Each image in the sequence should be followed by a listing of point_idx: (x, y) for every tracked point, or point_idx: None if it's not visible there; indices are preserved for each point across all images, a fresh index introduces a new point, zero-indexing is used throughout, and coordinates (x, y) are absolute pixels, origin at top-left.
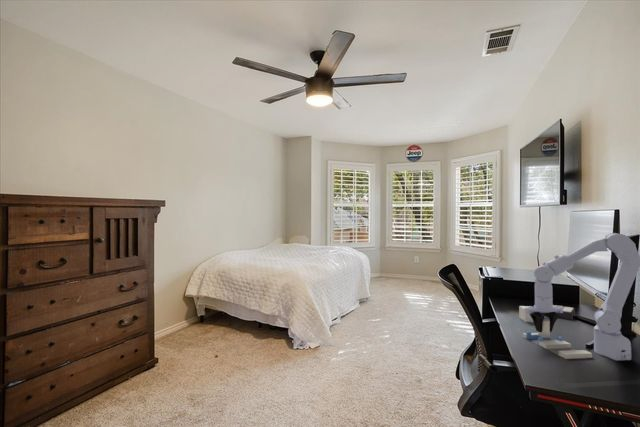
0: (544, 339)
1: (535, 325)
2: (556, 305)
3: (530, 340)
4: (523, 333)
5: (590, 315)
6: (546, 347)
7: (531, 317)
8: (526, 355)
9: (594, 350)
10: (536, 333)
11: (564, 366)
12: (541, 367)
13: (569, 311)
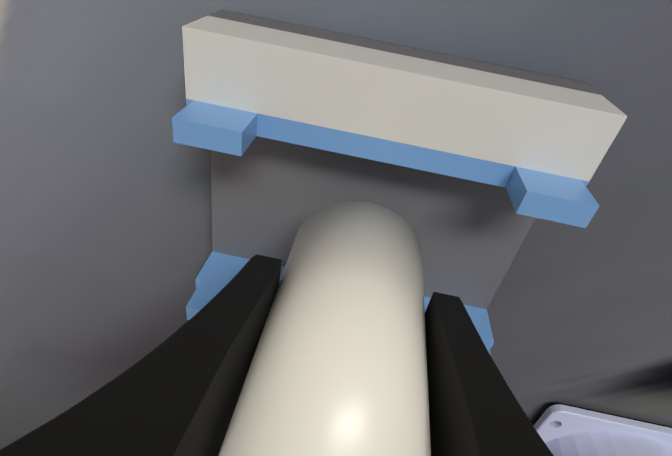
0: (429, 181)
1: (212, 313)
2: None
3: (219, 152)
4: (186, 38)
5: None
6: None
7: (45, 425)
8: (23, 299)
9: (558, 452)
10: (411, 104)
11: None
12: (35, 398)
13: None
